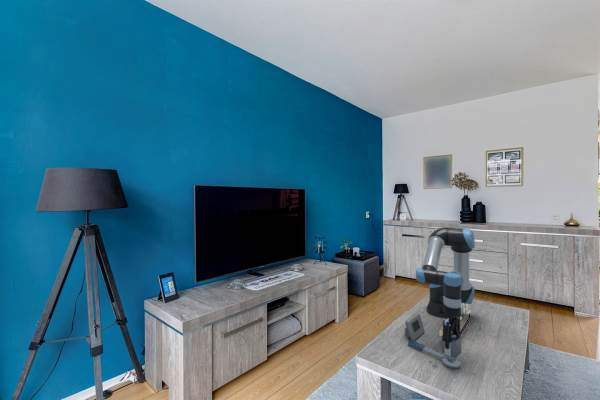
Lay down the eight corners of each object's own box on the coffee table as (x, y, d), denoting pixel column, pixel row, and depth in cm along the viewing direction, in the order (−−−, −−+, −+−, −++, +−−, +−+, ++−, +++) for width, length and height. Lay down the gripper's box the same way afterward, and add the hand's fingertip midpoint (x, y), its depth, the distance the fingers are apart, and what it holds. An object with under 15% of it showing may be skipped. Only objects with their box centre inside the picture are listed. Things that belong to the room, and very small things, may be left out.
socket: (447, 347, 140) (447, 329, 140) (461, 353, 135) (461, 334, 135) (441, 351, 136) (441, 333, 136) (455, 357, 131) (455, 339, 131)
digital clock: (412, 342, 156) (412, 323, 155) (399, 335, 163) (399, 317, 163) (429, 334, 164) (430, 316, 164) (416, 328, 172) (416, 311, 172)
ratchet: (413, 342, 156) (413, 332, 156) (463, 365, 135) (463, 354, 135) (405, 347, 151) (405, 337, 151) (455, 371, 130) (456, 360, 130)
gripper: (453, 298, 144) (452, 342, 145) (434, 308, 132) (433, 355, 133) (468, 303, 138) (468, 348, 139) (450, 313, 126) (449, 363, 127)
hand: (451, 351), depth 136 cm, fingers closed on socket, 6 cm apart
